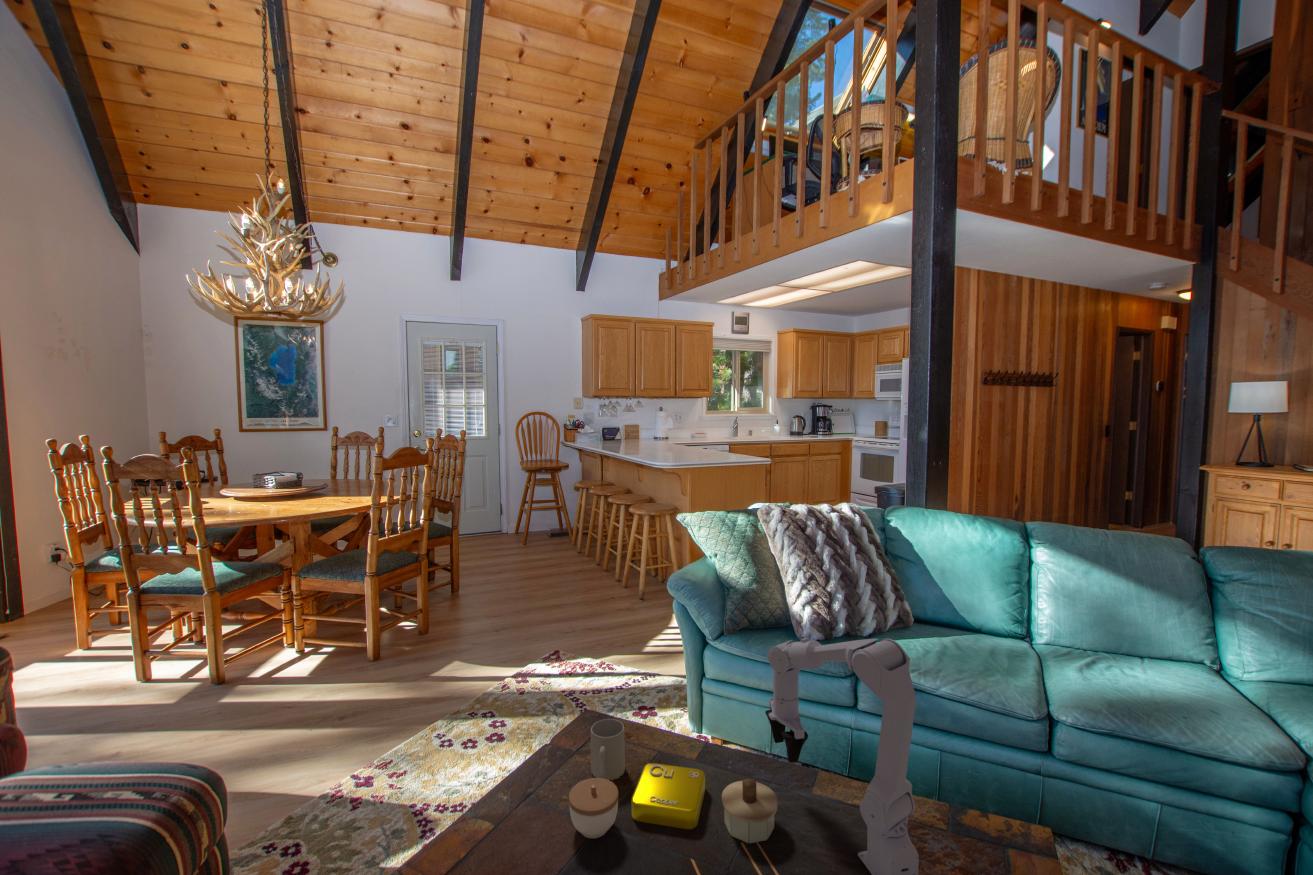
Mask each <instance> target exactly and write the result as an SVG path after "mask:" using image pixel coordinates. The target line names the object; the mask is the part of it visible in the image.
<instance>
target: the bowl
mask: <svg viewBox="0 0 1313 875" xmlns="http://www.w3.org/2000/svg"><path fill="white" fill-rule="evenodd" d="M723 812H724V813H723V814H724V816H723V817H724V818H723V819H724V820H723V821H724V824H725V826H726V828H727V831H728V832H729V836H731V837H733V838H735V839H738V840H740V841H743V842H745V843H747V844H753V843H758V842H763V841H767V840H769V837H771V835H772V833H773V830H774V829H775V815H774V816H773V817H771V818H770V819H768V820H766V821H763V822H757V823H751V822H744V821H741V820H738V819H736V818H734V817H732V816H731V815H730V814H728V813H727V812H726V810H725V809H724V808H723Z"/></svg>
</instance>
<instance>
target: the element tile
mask: <svg viewBox="0 0 1313 875" xmlns="http://www.w3.org/2000/svg"><path fill="white" fill-rule="evenodd" d="M705 792H706V774H705V772H704V771H703V770H701V769H698V768H694V767H685V766H678V765H669V764H664V763H663V764H662V763H656V762H655V763H654V762H649V763H647V764H645V765H644V766H643V768H642V771H641V774H640V776H639V779H638V781H637V784H636V786H635V788H634V791H633V794H632V796H631V817H632V819H633V820H634V821H636V822H639V823H640V822H642V823H647V824H654V825H659V826H665V827H672V828H679V829H684V830H692V829H695V828H696V827H697V826H698V824H699V820H700V814H701V810H702V806H703V801H704V796H705Z"/></svg>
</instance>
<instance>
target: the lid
mask: <svg viewBox="0 0 1313 875" xmlns="http://www.w3.org/2000/svg"><path fill="white" fill-rule="evenodd" d="M778 801H779V800H778V797H777V795H776V793H775V792H774V791H773V790H772V789H771V788H770V787H769V786H767V785H765V784H764V783H760V782H758V781H756V780H754V779H752V778H745V779H743V780H738V781H735V782H731V783H729V784H728V785H727V786H726V787H725V788H724V789H723V791H722V793H721V803H722V804H721V805H722V807H723V810H724V809H725V810H726V812H727V813H728V814H730V815H731V816H732V817H734V818H736V819H738V820H741V821H744V822H751V823H757V822H763V821H766V820H768V819H770V818H771V817H773V816H774V817H775V814H776V813H777V811H778V808H779V806H778V805H779V804H778V803H779V802H778Z"/></svg>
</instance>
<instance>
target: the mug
mask: <svg viewBox="0 0 1313 875" xmlns="http://www.w3.org/2000/svg"><path fill="white" fill-rule="evenodd" d="M625 740H626V738H625V726H624V723H623V722H622V721H620V720H617V719H614V718H606V719H600V720H598V721H596V722H594V723H593V724H592V726H591V728H590V763H591V764H590V770H591V774H593V775H592V776H593V778H595V777H596V778H604V779H607V780H609V781H610V780H611V781H615V780H618V779H620V778H621V777H622V776H623V775H624V773H625V771H626V754H625V752H626V749H625V748H626V747H625V745H626V744H625V742H626V741H625ZM620 776H621V777H620ZM614 779H615V780H614Z"/></svg>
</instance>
